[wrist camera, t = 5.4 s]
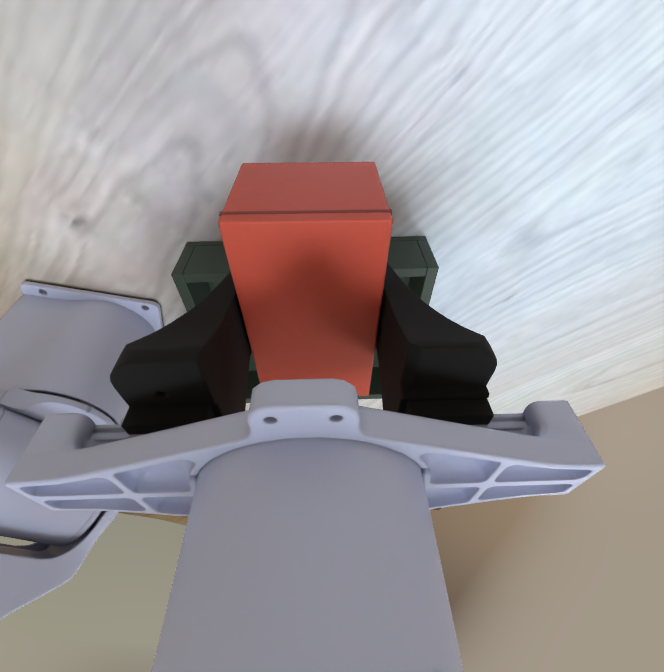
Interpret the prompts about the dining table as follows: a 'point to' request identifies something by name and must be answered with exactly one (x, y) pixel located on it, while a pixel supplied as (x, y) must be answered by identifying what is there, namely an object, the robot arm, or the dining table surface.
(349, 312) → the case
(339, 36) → the dining table surface
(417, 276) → the tote
